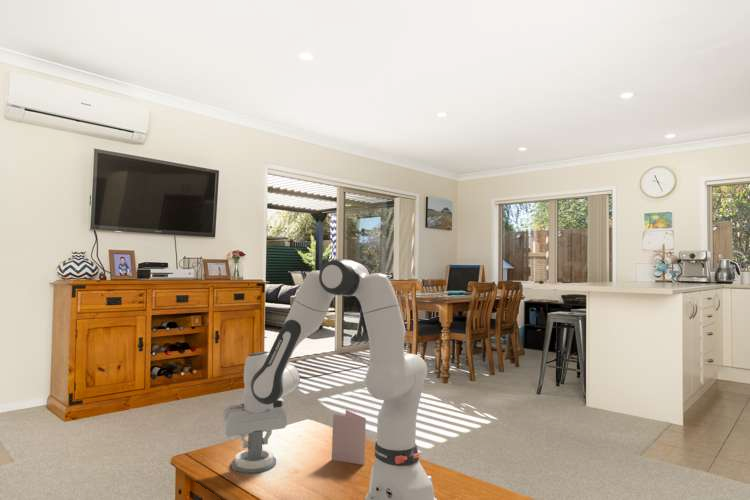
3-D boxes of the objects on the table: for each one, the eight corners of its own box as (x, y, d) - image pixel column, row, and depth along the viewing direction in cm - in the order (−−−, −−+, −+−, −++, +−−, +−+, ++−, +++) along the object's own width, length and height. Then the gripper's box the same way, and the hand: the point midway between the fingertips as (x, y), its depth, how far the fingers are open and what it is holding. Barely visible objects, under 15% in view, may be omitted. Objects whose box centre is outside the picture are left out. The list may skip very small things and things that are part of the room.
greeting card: (366, 464, 158) (367, 417, 158) (347, 469, 153) (349, 421, 154) (346, 453, 167) (347, 409, 167) (328, 457, 162) (329, 412, 163)
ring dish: (282, 468, 152) (282, 459, 153) (238, 476, 145) (238, 467, 145) (268, 452, 164) (268, 444, 164) (226, 460, 157) (226, 451, 157)
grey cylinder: (258, 465, 152) (259, 432, 153) (244, 463, 153) (246, 430, 153) (263, 459, 157) (265, 427, 157) (250, 458, 157) (252, 426, 158)
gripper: (226, 408, 147) (224, 454, 147) (289, 401, 158) (288, 443, 158) (221, 403, 153) (219, 447, 152) (282, 396, 163) (281, 437, 163)
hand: (255, 445), depth 155 cm, fingers open, 5 cm apart
